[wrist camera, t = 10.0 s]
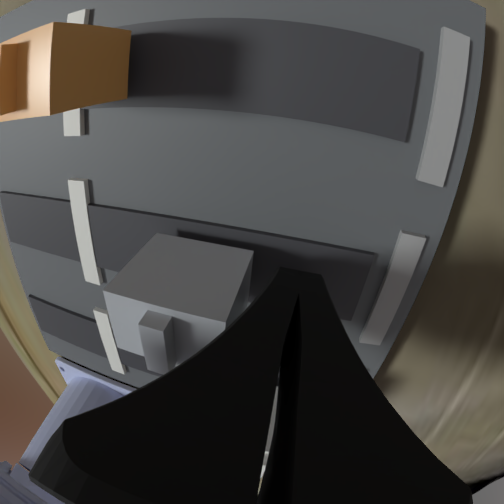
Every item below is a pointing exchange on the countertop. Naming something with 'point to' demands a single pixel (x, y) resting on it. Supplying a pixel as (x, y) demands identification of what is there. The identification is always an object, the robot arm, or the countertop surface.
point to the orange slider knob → (62, 69)
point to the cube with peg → (177, 298)
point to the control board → (247, 156)
